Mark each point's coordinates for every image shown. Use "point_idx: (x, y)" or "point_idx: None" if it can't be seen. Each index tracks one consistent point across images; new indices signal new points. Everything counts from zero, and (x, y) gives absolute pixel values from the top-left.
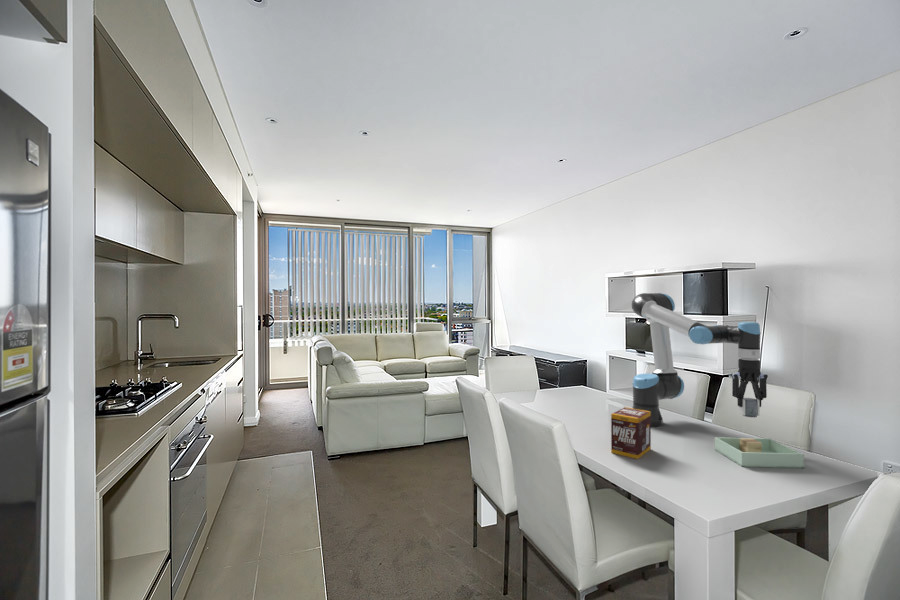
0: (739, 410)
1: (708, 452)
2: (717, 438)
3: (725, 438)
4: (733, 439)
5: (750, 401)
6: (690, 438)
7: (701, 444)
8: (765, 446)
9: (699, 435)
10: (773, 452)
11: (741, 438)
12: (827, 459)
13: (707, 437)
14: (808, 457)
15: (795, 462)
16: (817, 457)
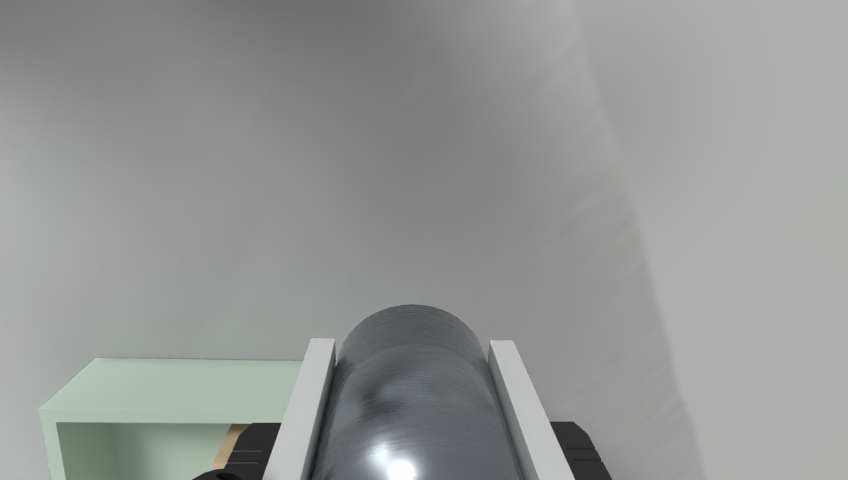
0: (304, 360)
1: (29, 406)
2: (49, 434)
3: (121, 421)
4: (188, 418)
5: None
6: (3, 102)
7: (42, 251)
8: None
9: (119, 9)
10: None
11: (224, 464)
12: (695, 474)
13: (169, 69)
14: (615, 452)
15: None
16: (669, 449)
